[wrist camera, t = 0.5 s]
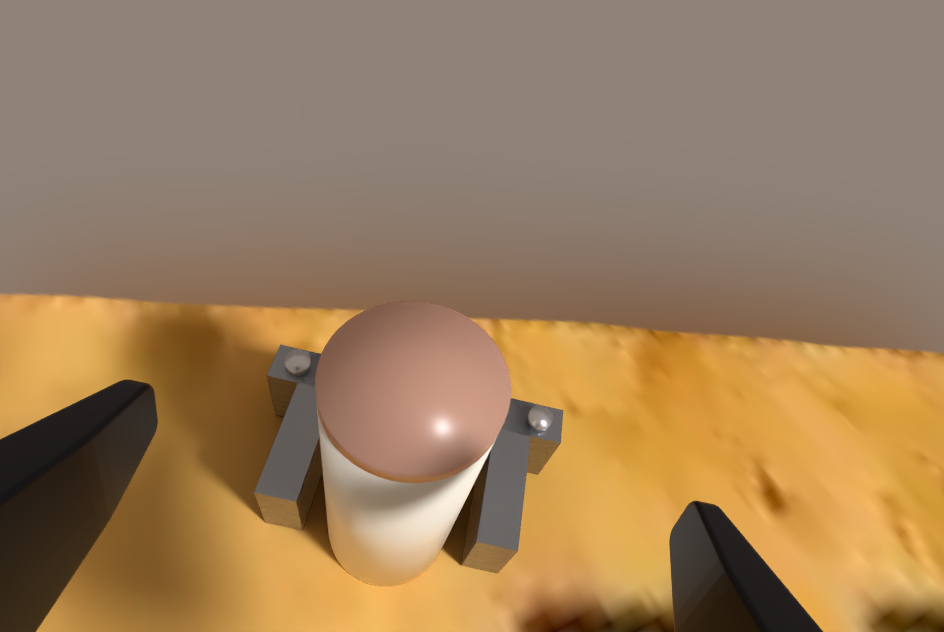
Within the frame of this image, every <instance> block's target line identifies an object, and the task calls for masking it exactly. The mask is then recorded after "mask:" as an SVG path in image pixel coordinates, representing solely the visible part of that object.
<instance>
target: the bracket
mask: <svg viewBox="0 0 944 632" xmlns="http://www.w3.org/2000/svg"><path fill="white" fill-rule="evenodd" d="M320 356H321V354H318V353H314V352H310V351H306V350H301V349H297V348H293V347H288V346H284V345H280V347H279V349H278V351H277V353H276V356H275V358H274V360H273V362H272V365H271V367H270V369H269V372H268V374H267V379H268V384H269V388H270V393H271V397H272V401H273V406H274V410H275V415H278V416H283V417H284V419H283V421H282V424H281V426H280V429H279V431H278V434H277V436H276V439H275V441H274V444H273V446H272V449H271V451H270V454H269V456H268V459H267V461H266V463H265V466H264V468H263V471H262V473H261V476H260V478H259V481H258V483H257V486H256V488H255V491H254V494H255V497H256V499H257V502H258V505H259V507H260V510H261V513H262V515H263V518H264V520H265V522H266V523H271V524H275V525H280V526H284V527H289V528H294V529H298V530H303V527H304V524H305V521H306V518H307V515H308V512H309V509H310V506H311V503H312V500H313V497H314V494H315V491H316V488H317V485H318V482H319V479H320V476H321V473H322V470H323V469H322V458H321V447H320V436H319V425H318V414H317V403H316V393H315V377H316V370H317V366H318V362H319V359H320ZM562 418H563V410H559V409H555V408H551V407H546V406H542V405H538V404H533V403H529V402H525V401H520V400H516V399H512V398H511V401H510V406H509V410H508V414H507V416H506V419H505V422H504V424H503V426H502V428H501V430H500V432H499V434H498V436H497V438H496V440H495V442H494V444H493V446H492V448H491V450H490V452H489V454H488V456H487V458H486V460H485V462H484V464H483V466H482V468H481V470H480V472H479V474H478V476H477V478H476V480H475V486H474V492H473V498H472V504H471V510H470V516H469V522H468V528H467V534H466V541H465V547H464V553H463V559H462V566H466V567H471V568H475V569H480V570H485V571H489V572H494V573H498V572H499V571H500V570H501V569H502V568H503V567H504V566H505V565H506V564H507V562H508V561H509V560H510V559H511V558H512V557H513V556H514V555H515V554H516V553H517V551H518V545H519V536H520V527H521V518H522V509H523V500H524V491H525V482H526V473H527V472H529V473H533V474H537V475H538V474H539V472H540V471H541V470H542V468H543V467H544V465H545V464H546V463H547V461H548V460H549V459H550V457H551V456H552V454H553V453H554V452H555V450H556V449H557V447H558V446H559V445H560V443H561V431H562Z"/></svg>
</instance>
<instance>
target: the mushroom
mask: <svg viewBox="0 0 944 632" xmlns="http://www.w3.org/2000/svg"><path fill="white" fill-rule="evenodd" d="M315 393H316V403H317V414H318V425H319V436H320V447H321V458H322V469H323V479H324V490H325V501H326V512H327V523H328V534H329V540H330V544H331V548H332V551H333V553H334V555H335V557H336V559H337V560H338V562H339V563H340V565H341V566H342V567H343V568H344V569H345V570H346V571H347V572H348V573H349V574H350V575H352V576H353V577H355V578H356V579H358V580H360V581H362V582H364V583H367V584H371V585H375V586H396V585H400V584H404V583H407V582H409V581H411V580H413V579H415V578H417V577H418V576H420V575H421V574H422V573H424V572H425V571H426V570H427V569H428V568H429V567H430V566H431V565H432V564H433V562H434V561H435V560H436V558H437V556H438V555H439V553H440V551H441V549H442V547H443V545H444V543H445V541H446V539H447V537H448V535H449V533H450V531H451V529H452V527H453V525H454V523H455V521H456V519H457V517H458V515H459V513H460V511H461V509H462V507H463V505H464V503H465V501H466V499H467V497H468V495H469V492H470V490H471V488H472V486H473V484H474V482H475V480H476V478H477V476H478V474H479V472H480V470H481V468H482V466H483V464H484V462H485V460H486V458H487V456H488V454H489V452H490V450H491V448H492V446H493V444H494V442H495V440H496V438H497V436H498V434H499V432H500V430H501V428H502V426H503V424H504V422H505V419H506V416H507V414H508V410H509V406H510V401H511V382H510V376H509V371H508V367H507V365H506V362H505V359H504V357H503V355H502V353H501V351H500V350H499V348H498V346H497V345H496V344H495V342H494V341H493V339H492V338H491V337H490V336H489V335H488V334H487V333H486V332H485V331H484V330H483V329H482V328H481V327H480V326H479V325H477V324H476V323H475V322H473V321H472V320H470V319H469V318H468V317H466V316H464V315H462V314H460V313H458V312H456V311H454V310H452V309H449V308H447V307H443V306H440V305H436V304H432V303H426V302H417V301H400V302H392V303H387V304H383V305H379V306H376V307H373V308H370V309H368V310H365V311H363V312H362V313H360V314H358V315H356V316H354V317H353V318H351V319H350V320H348V321H347V322H346V323H345V324H344V325H342V326H341V327H340V328H339V329H338V330H337V331H336V332H335V333H334V335H333V336H332V337H331V338H330V340H329V341H328V343H327V344H326V346H325V348H324V350H323V352H322V354H321V356H320V359H319V362H318V366H317V370H316V377H315Z"/></svg>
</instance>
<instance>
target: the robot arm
mask: <svg viewBox="0 0 944 632" xmlns="http://www.w3.org/2000/svg"><path fill="white" fill-rule="evenodd" d="M157 422H158V419H157V411H156V402H155V394H154V389H153V387H152V386H151V385H149V384H147V383H143V382H138V381H133V380H122V381H119V382H117V383H115V384H113V385H111V386H109V387H107V388H105V389H103V390H101V391H99V392H97V393H95V394H93V395H90V396H88V397H86V398H84V399H82V400H80V401H78V402H76V403H74V404H72V405H70V406H68V407H66V408H64V409H62V410H60V411H58V412H56V413H53V414H51V415H49V416H47V417H45V418H43V419H41V420H39V421H37V422H35V423H33V424H31V425H29V426H27V427H25V428H23V429H21V430H19V431H16V432H14V433H12V434H10V435H8V436H6V437H4V438H2V439H0V632H36V631H37V629H38V628H39V626H40V625H41V623H42V622H43V620H44V619H45V617H46V616H47V614H48V613H49V611H50V610H51V608H52V607H53V605H54V604H55V602H56V601H57V599H58V598H59V596H60V595H61V593H62V592H63V590H64V589H65V587H66V586H67V584H68V583H69V581H70V580H71V578H72V577H73V575H74V574H75V572H76V571H77V569H78V568H79V566H80V565H81V563H82V562H83V560H84V559H85V557H86V555H87V554H88V552H89V551H90V549H91V548H92V546H93V545H94V543H95V542H96V540H97V539H98V537H99V536H100V534H101V533H102V531H103V530H104V528H105V527H106V525H107V523H108V522H109V520H110V518H111V517H112V515H113V513H114V511H115V509H116V508H117V506H118V504H119V502H120V500H121V498H122V496H123V494H124V492H125V490H126V488H127V486H128V485H129V483H130V481H131V479H132V477H133V475H134V473H135V471H136V469H137V467H138V465H139V463H140V461H141V459H142V458H143V456H144V454H145V452H146V450H147V448H148V446H149V444H150V442H151V440H152V438H153V436H154V434H155V431H156V428H157ZM670 561H671V580H672V598H673V617H674V629H675V632H823V631H822V630H821V628H820V627H819V626H818V625H817V624H816V622H815V621H814V620H813V619H812V618H811V616H810V615H809V614H808V613H807V612H806V610H805V609H804V608H803V607H802V606H801V604H800V603H799V602H798V601H797V600H796V598H795V597H794V596H793V595H792V594H791V592H790V591H789V590H788V589H787V588H786V586H785V585H784V584H783V583H782V582H781V580H780V579H779V578H778V577H777V576H776V574H775V573H774V572H773V571H772V570H771V569H770V567H769V566H768V565H767V564H766V563H765V561H764V560H763V559H762V558H761V557H760V555H759V554H758V553H757V552H756V551H755V549H754V548H753V547H752V546H751V545H750V543H749V542H748V541H747V540H746V539H745V537H744V536H743V535H742V534H741V533H740V531H739V530H738V529H737V528H736V527H735V525H734V524H733V523H732V522H731V521H730V519H729V518H728V517H727V516H726V515H725V513H724V512H723V511H722V510H721V509H720V508H719V507H718V506H716V505H714V504H710V503H705V502H700V501H692V502H691V503H689V505H688V506H687V507H686V509H685V510H684V512H683V513H682V515H681V516H680V518H679V519H678V521H677V522H676V524H675V525H674V527H673V529H672V531H671V535H670Z"/></svg>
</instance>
